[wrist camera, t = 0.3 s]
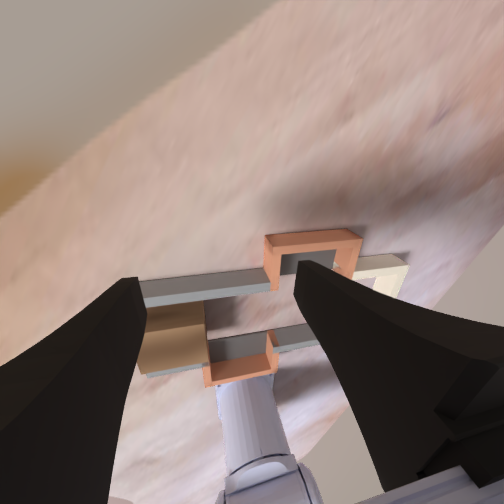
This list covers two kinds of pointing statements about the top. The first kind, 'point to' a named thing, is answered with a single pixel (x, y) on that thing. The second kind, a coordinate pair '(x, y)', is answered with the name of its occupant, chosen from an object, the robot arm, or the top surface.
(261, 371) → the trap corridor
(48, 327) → the top surface
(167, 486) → the top surface
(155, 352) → the walnut block
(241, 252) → the top surface
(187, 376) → the top surface
